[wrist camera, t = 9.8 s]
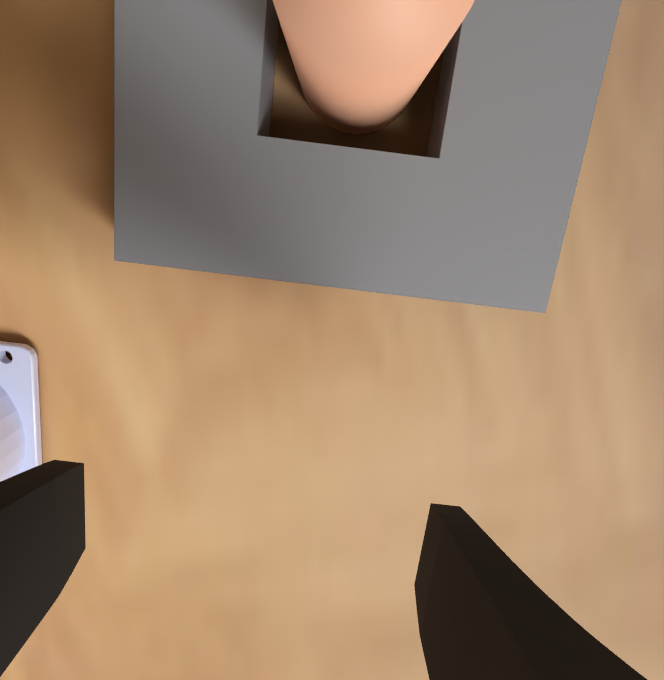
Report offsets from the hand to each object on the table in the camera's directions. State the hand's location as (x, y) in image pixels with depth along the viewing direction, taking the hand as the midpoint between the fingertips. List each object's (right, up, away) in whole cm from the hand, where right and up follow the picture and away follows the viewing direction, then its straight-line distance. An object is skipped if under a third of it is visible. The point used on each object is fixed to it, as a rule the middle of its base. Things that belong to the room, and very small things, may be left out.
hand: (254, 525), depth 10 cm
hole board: (+2, +13, +6) cm, 15 cm away
